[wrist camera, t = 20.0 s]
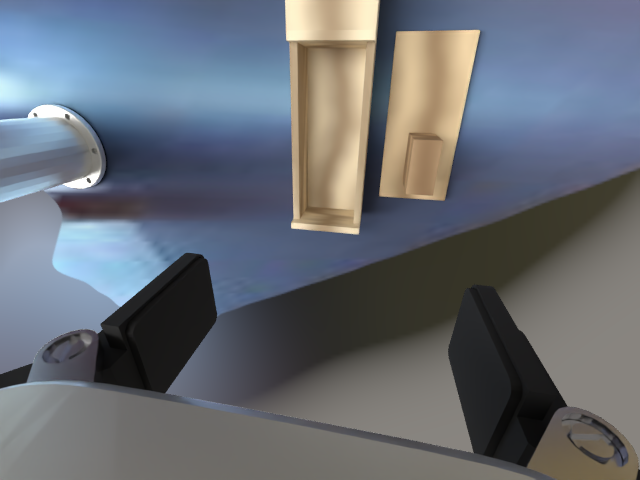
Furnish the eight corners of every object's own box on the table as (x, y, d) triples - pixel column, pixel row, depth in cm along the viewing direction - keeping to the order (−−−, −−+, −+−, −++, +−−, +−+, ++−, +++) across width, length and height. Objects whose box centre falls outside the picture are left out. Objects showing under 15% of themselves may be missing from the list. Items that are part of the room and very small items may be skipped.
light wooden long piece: (303, 208, 45) (291, 228, 38) (302, -25, 32) (283, -53, 26) (361, 213, 43) (358, 234, 37) (382, -28, 31) (383, -58, 25)
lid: (379, 193, 42) (378, 211, 36) (395, 33, 34) (399, 19, 27) (442, 197, 41) (454, 217, 34) (477, 32, 32) (500, 17, 26)
